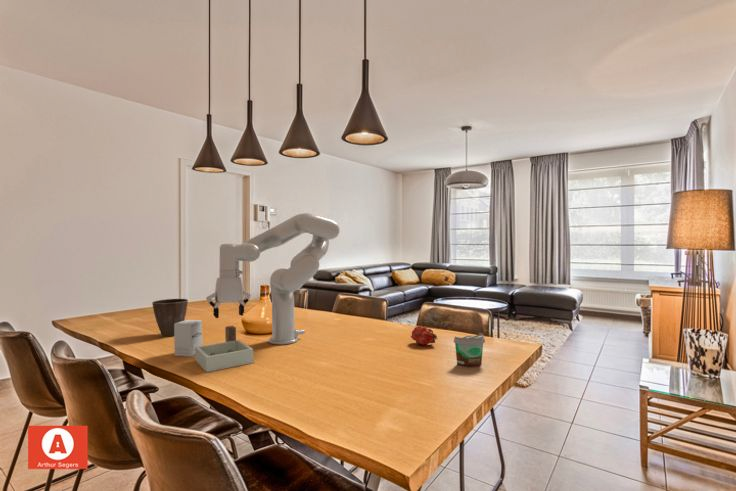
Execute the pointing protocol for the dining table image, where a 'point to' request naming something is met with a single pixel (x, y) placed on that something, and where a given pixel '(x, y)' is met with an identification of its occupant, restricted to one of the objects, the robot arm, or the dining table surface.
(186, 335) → the supplement box
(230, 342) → the pale green tray
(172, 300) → the plant pot
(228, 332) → the walnut timber post
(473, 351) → the food container
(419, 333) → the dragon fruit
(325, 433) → the dining table surface
